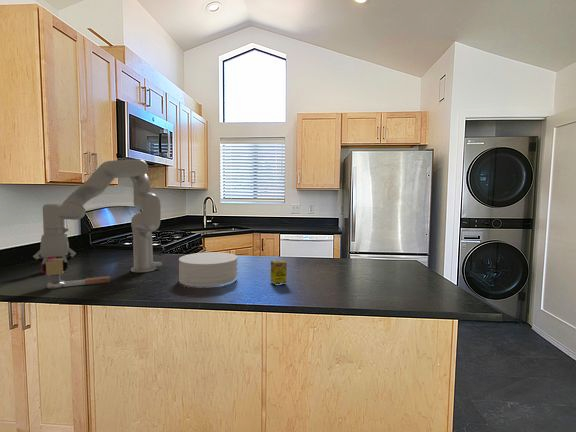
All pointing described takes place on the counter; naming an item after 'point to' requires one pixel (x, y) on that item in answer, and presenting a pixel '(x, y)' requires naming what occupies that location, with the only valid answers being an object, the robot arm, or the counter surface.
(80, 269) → the counter surface
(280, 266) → the supplement box
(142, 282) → the counter surface
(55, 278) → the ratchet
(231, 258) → the plate stack
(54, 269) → the mustard yellow cube
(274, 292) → the counter surface
